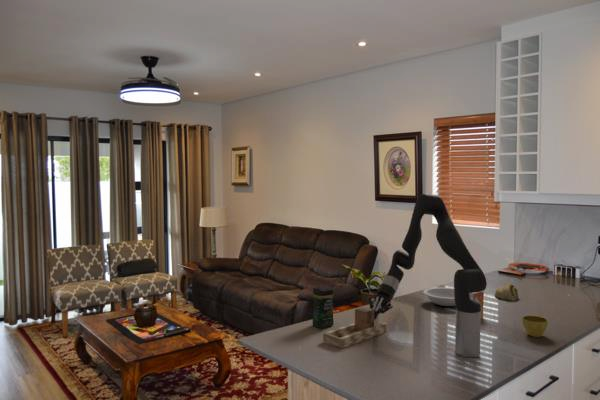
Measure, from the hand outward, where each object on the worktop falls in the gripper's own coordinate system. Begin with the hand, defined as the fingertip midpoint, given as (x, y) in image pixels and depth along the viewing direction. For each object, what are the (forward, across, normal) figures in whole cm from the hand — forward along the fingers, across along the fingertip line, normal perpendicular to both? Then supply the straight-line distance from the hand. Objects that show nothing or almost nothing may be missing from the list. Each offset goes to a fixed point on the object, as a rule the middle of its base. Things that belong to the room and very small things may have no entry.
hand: (371, 319), depth 211 cm
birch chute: (+12, 0, -4) cm, 12 cm away
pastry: (-68, +17, +76) cm, 103 cm away
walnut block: (+7, 0, -1) cm, 7 cm away
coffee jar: (+11, -20, -3) cm, 24 cm away
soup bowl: (-41, 0, +49) cm, 64 cm away
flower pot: (-30, +52, +37) cm, 71 cm away
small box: (-33, +21, +41) cm, 57 cm away
